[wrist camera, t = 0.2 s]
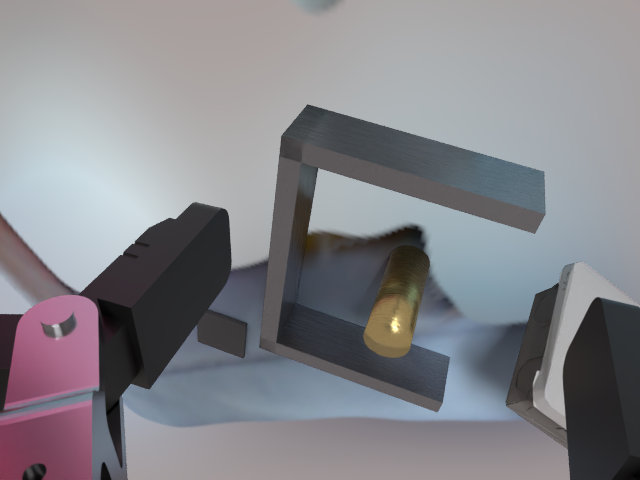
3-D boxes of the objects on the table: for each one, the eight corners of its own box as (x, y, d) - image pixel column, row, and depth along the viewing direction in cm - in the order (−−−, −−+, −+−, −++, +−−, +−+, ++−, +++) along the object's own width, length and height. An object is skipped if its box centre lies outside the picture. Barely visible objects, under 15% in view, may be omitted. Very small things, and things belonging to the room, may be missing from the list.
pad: (198, 306, 43) (197, 308, 43) (247, 323, 43) (245, 326, 42) (199, 339, 46) (197, 341, 46) (244, 355, 45) (243, 358, 45)
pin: (395, 240, 33) (368, 318, 27) (434, 253, 32) (415, 334, 27) (385, 269, 34) (359, 348, 29) (423, 281, 34) (403, 363, 29)
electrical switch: (694, 342, 30) (721, 497, 24) (617, 370, 34) (622, 510, 28) (575, 250, 29) (571, 387, 23) (508, 290, 33) (489, 417, 27)
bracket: (307, 104, 29) (281, 135, 26) (544, 171, 27) (545, 214, 24) (279, 309, 40) (259, 347, 37) (444, 367, 38) (437, 412, 35)
